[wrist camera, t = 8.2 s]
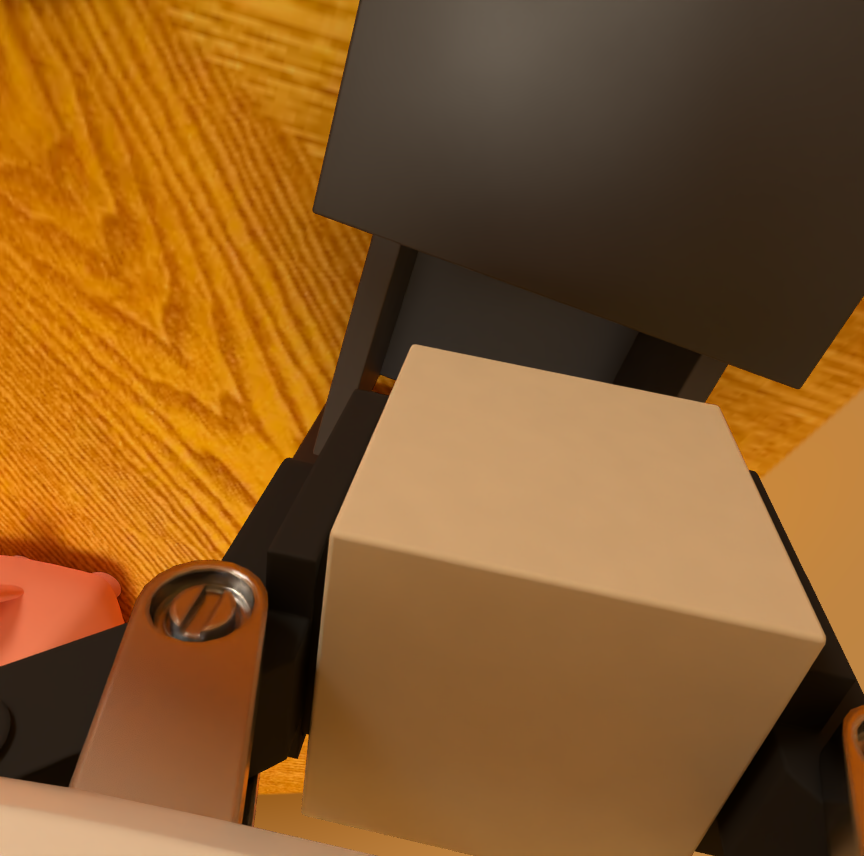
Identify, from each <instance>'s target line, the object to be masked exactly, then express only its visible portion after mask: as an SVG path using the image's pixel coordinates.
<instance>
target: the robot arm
mask: <svg viewBox="0 0 864 856" xmlns="http://www.w3.org/2000/svg"><path fill="white" fill-rule="evenodd" d="M388 398H389V396H388V395H383V394H378V393H373V392H369V391H364V390H359V389H355V390H354V391H353V393H352V395H351V397H350V399H349V401H348V402H347V404H346V406H345V408H344V410H343V412H342V414H341V415H340V417H339V419H338V421H337V423H336V425H335V426H334V428H333V430H332V432H331V434H330V436H329V438H328V439H327V441H326V443H325V445H324V447H323V449H322V450H321V452H320V454H319V456H318V458H317V460H316V462H315V463H312V462H307V461H302V460H298V459H293V458H286V459H285V460H284V461H283V462H282V464H281V465H280V467H279V468H278V470H277V472H276V473H275V475H274V476H273V478H272V480H271V481H270V483H269V485H268V486H267V488H266V489H265V491H264V493H263V494H262V496H261V497H260V499H259V501H258V502H257V504H256V506H255V507H254V509H253V510H252V512H251V514H250V515H249V517H248V519H247V520H246V522H245V523H244V525H243V527H242V528H241V530H240V531H239V533H238V535H237V536H236V538H235V540H234V541H233V543H232V544H231V546H230V548H229V549H228V551H227V552H226V554H225V556H224V557H223V559H222V561H220V560H197V561H191V562H187V563H183V564H179V565H176V566H173V567H172V568H170V569H168V570H166V571H164V572H162V573H160V574H158V575H157V576H156V577H154V578H153V579H152V580H151V581H150V582H149V583H148V584H146V585H145V586H144V588H143V590H142V591H141V593H140V595H139V596H138V598H137V600H136V602H135V605H134V607H133V610H132V613H131V616H130V618H129V621H128V622H127V623H125V624H122V625H119V626H116V627H113V628H110V629H107V630H104V631H101V632H99V633H96V634H93V635H90V636H87V637H84V638H81V639H78V640H75V641H72V642H70V643H67V644H64V645H61V646H58V647H55V648H52V649H49V650H46V651H44V652H41V653H38V654H35V655H32V656H29V657H26V658H23V659H20V660H17V661H15V662H12V663H9V664H6V665H3V666H0V856H376V855H371V854H367V853H363V852H358V851H354V850H350V849H346V848H341V847H337V846H333V845H328V844H324V843H320V842H315V841H311V840H307V839H302V838H298V837H293V836H290V835H285V834H281V833H277V832H272V831H268V830H264V829H259V828H255V827H254V820H255V812H256V804H257V795H258V787H259V779H260V773H261V772H262V771H264V770H266V769H268V768H270V767H272V766H274V765H276V764H278V763H280V762H282V761H284V760H286V759H287V757H292V758H296V759H298V756H299V754H300V751H301V748H302V745H303V742H304V739H305V736H306V734H309V731H310V721H311V711H312V702H313V692H314V682H315V672H316V663H317V653H318V643H319V634H320V624H321V614H322V605H323V595H324V585H325V576H326V566H327V556H328V546H329V537H330V532H331V529H332V527H333V525H334V522H335V520H336V518H337V515H338V513H339V511H340V509H341V506H342V504H343V502H344V499H345V497H346V495H347V492H348V490H349V488H350V486H351V483H352V481H353V479H354V476H355V474H356V472H357V469H358V467H359V465H360V463H361V460H362V458H363V456H364V453H365V451H366V449H367V446H368V444H369V442H370V440H371V437H372V435H373V433H374V430H375V428H376V426H377V423H378V421H379V419H380V417H381V414H382V412H383V410H384V407H385V405H386V403H387V400H388ZM749 472H750V474H751V476H752V479H753V481H754V483H755V485H756V487H757V489H758V491H759V494H760V496H761V498H762V500H763V502H764V504H765V507H766V509H767V511H768V513H769V515H770V517H771V519H772V522H773V524H774V526H775V528H776V530H777V532H778V535H779V537H780V539H781V541H782V543H783V545H784V547H785V550H786V552H787V554H788V556H789V558H790V560H791V562H792V565H793V567H794V569H795V571H796V573H797V575H798V578H799V580H800V582H801V584H802V586H803V588H804V590H805V593H806V595H807V597H808V599H809V601H810V603H811V606H812V608H813V610H814V612H815V614H816V616H817V618H818V621H819V623H820V625H821V627H822V629H823V631H824V634H825V636H826V643H825V645H824V647H823V648H822V650H821V652H820V653H819V655H818V656H817V658H816V659H815V661H814V663H813V664H812V666H811V667H810V669H809V671H808V672H807V674H806V675H805V677H804V679H803V680H802V682H801V683H800V685H799V686H798V688H797V690H796V691H795V693H794V694H793V696H792V698H791V699H790V701H789V702H788V704H787V705H786V707H785V709H784V710H783V712H782V713H781V715H780V717H779V718H778V720H777V721H776V723H775V725H774V726H773V728H772V729H771V731H770V732H769V734H768V736H767V737H766V739H765V740H764V742H763V744H762V745H761V747H760V748H759V750H758V751H757V753H756V755H755V756H754V758H753V759H752V761H751V763H750V764H749V766H748V767H747V769H746V771H745V772H744V774H743V775H742V777H741V778H740V780H739V782H738V783H737V785H736V786H735V788H734V790H733V791H732V793H731V794H730V796H729V797H728V799H727V801H726V802H725V804H724V805H723V807H722V809H721V810H720V812H719V813H718V815H717V817H716V818H715V820H714V821H713V823H712V824H711V826H710V828H709V829H708V831H707V832H706V834H705V836H704V837H703V839H702V840H701V842H700V843H699V845H698V847H697V848H696V850H695V851H696V852H700V853H705V854H709V855H713V856H864V694H863V692H862V690H861V688H860V686H859V683H858V681H857V679H856V677H855V675H854V673H853V671H852V669H851V667H850V665H849V663H848V661H847V659H846V656H845V654H844V652H843V650H842V648H841V646H840V644H839V642H838V640H837V638H836V636H835V633H834V631H833V629H832V627H831V625H830V623H829V621H828V619H827V617H826V615H825V613H824V611H823V608H822V606H821V604H820V602H819V600H818V598H817V596H816V594H815V592H814V590H813V588H812V586H811V583H810V581H809V579H808V577H807V576H806V574H805V572H804V570H803V568H802V566H801V564H800V562H799V559H798V557H797V555H796V553H795V551H794V549H793V547H792V545H791V543H790V541H789V539H788V536H787V534H786V532H785V530H784V528H783V526H782V524H781V522H780V520H779V518H778V516H777V513H776V511H775V509H774V507H773V505H772V503H771V501H770V499H769V497H768V495H767V493H766V491H765V488H764V487H763V484H762V482H761V480H760V478H759V476H758V474H757V473H756V472H755V471H751V470H749Z"/></svg>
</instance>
